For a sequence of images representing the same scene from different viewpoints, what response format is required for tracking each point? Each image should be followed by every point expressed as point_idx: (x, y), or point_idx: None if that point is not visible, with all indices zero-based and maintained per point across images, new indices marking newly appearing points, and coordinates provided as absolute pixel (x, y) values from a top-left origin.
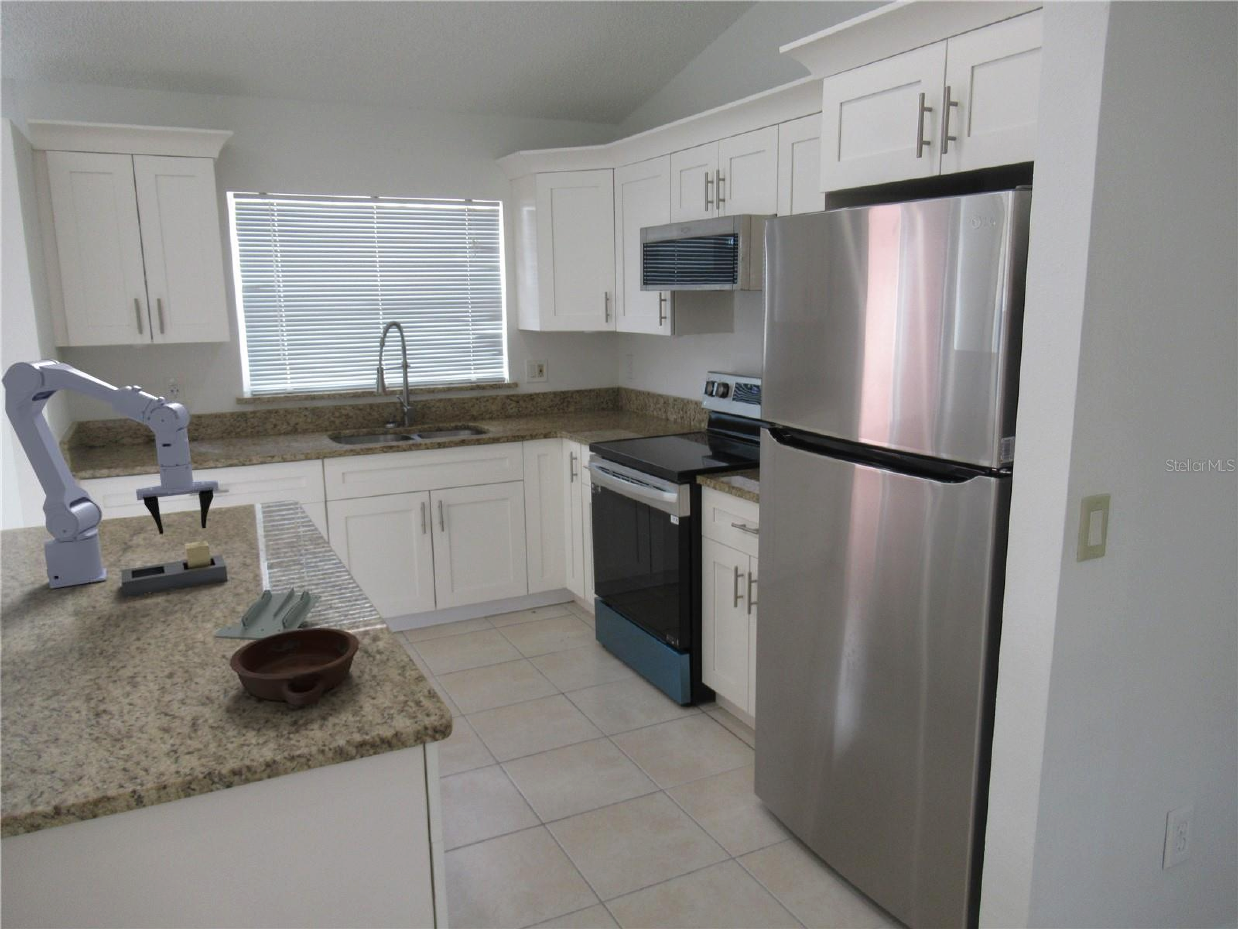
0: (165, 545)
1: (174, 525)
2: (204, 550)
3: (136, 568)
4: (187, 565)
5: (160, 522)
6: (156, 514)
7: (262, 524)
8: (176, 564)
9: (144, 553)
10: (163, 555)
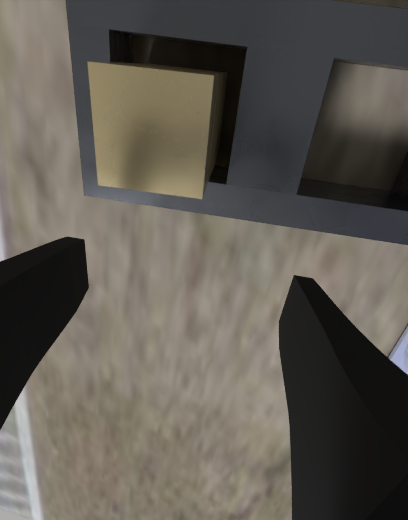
0: (209, 444)
1: (172, 515)
2: (123, 64)
3: (386, 230)
4: (215, 149)
5: (321, 316)
6: (370, 368)
7: (21, 442)
8: (251, 177)
9: (259, 427)
10: (229, 393)
